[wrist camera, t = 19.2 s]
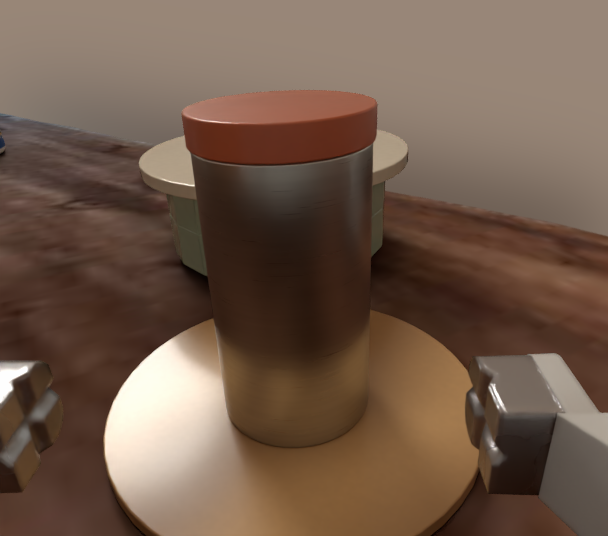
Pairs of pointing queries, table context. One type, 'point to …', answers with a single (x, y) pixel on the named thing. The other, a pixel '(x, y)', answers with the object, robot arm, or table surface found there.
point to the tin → (288, 255)
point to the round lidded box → (191, 236)
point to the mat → (292, 461)
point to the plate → (180, 180)
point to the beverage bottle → (1, 143)
